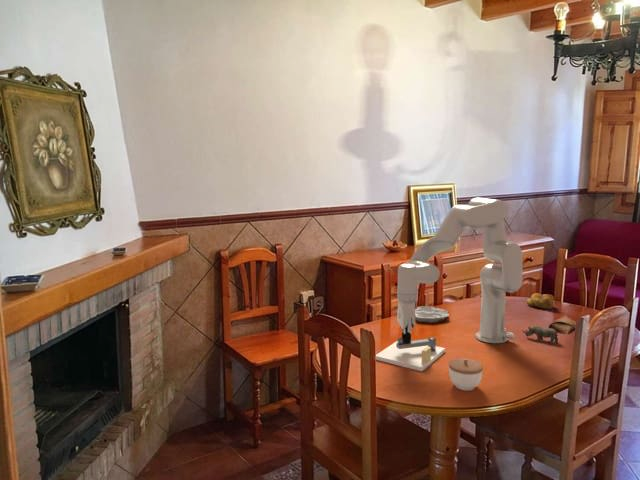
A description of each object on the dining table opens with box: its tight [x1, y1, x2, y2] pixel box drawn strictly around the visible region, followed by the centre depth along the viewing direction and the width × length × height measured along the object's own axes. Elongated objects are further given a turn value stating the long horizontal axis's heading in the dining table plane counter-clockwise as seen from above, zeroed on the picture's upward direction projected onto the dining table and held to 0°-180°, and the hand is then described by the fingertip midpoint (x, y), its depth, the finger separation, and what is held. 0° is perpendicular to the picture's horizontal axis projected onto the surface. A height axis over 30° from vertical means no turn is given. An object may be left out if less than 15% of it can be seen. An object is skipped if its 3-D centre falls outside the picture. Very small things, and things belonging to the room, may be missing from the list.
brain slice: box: [415, 305, 450, 324], centre depth 238 cm, size 20×17×3 cm
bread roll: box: [526, 292, 555, 310], centre depth 254 cm, size 13×10×8 cm
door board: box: [376, 340, 446, 372], centre depth 192 cm, size 19×22×6 cm
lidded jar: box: [448, 357, 484, 392], centre depth 166 cm, size 11×11×9 cm
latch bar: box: [396, 336, 437, 351], centre depth 191 cm, size 16×3×6 cm, turn 108°
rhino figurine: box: [522, 325, 559, 345], centre depth 208 cm, size 4×14×6 cm, turn 54°
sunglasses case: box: [547, 314, 577, 336], centre depth 223 cm, size 18×7×7 cm, turn 136°
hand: (406, 342), depth 193 cm, fingers closed
